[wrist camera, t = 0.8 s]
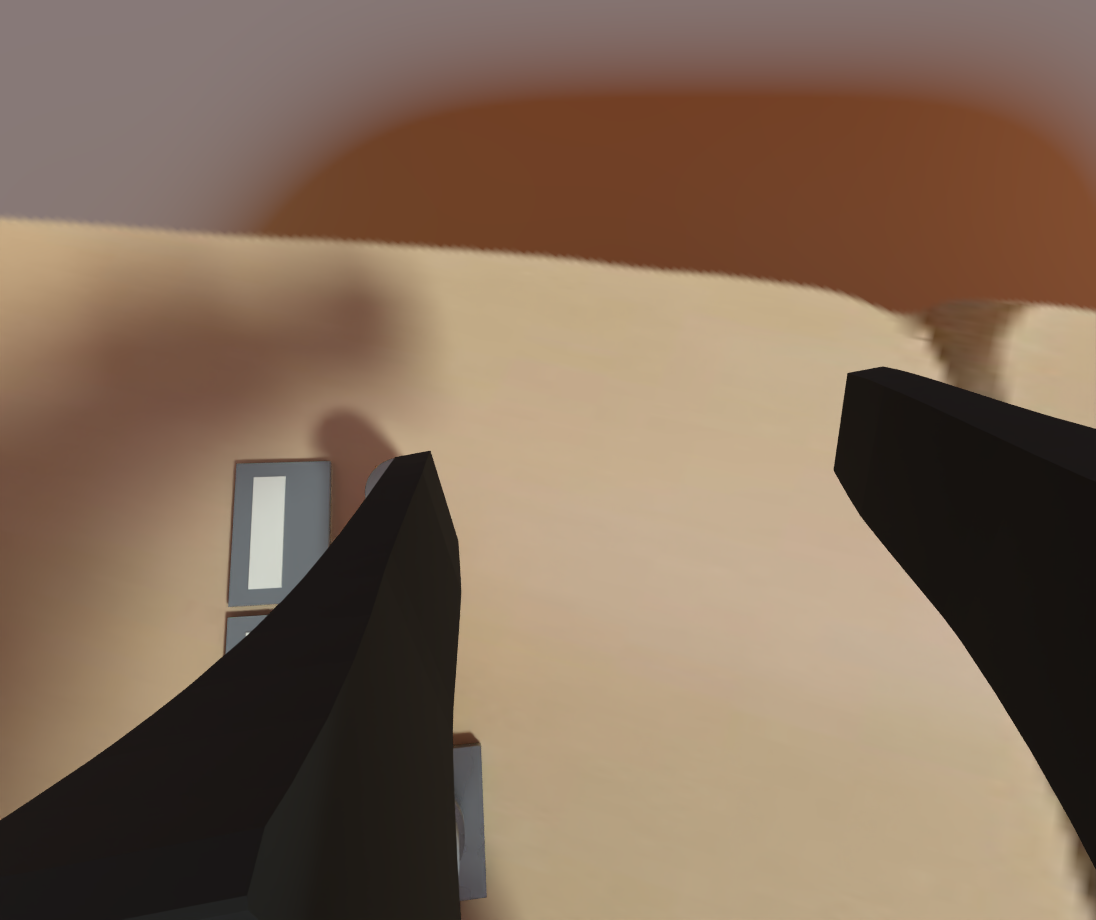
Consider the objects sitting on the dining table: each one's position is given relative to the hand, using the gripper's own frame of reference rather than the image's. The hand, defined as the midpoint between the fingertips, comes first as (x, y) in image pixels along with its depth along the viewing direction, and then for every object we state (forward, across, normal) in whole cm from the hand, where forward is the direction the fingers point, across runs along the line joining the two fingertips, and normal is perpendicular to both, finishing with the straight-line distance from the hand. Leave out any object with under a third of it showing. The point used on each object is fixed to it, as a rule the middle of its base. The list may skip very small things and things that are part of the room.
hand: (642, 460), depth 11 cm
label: (+11, +12, +8) cm, 19 cm away
